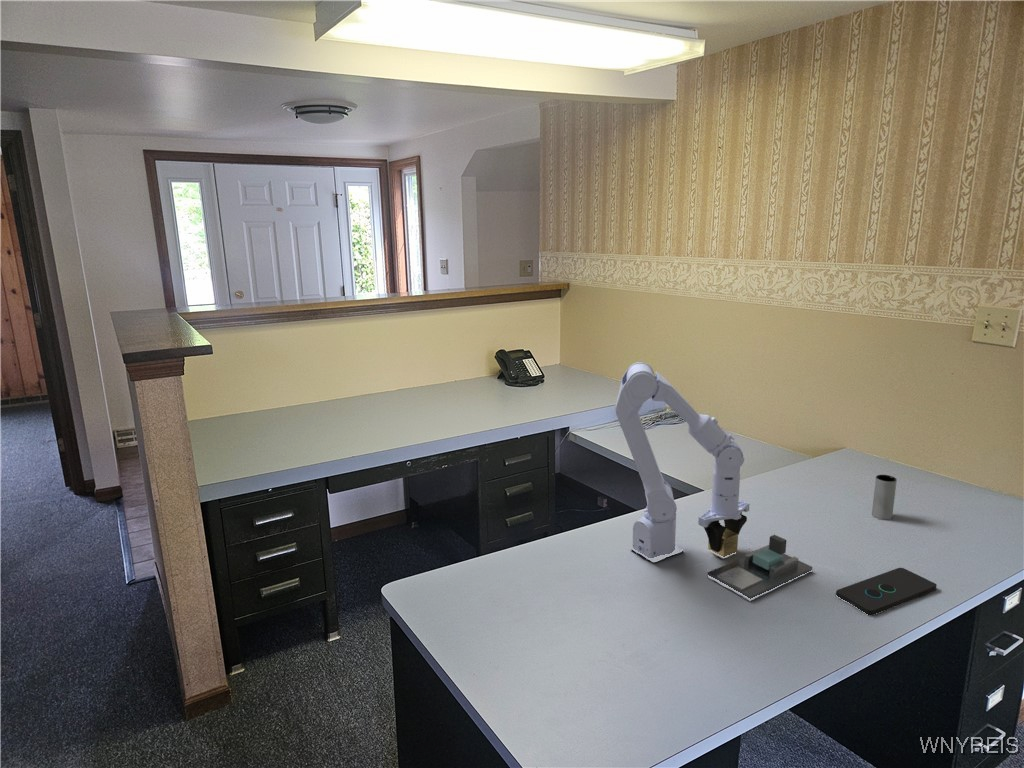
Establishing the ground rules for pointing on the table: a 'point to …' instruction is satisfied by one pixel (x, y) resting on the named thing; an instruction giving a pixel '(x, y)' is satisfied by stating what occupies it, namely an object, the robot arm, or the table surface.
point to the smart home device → (886, 590)
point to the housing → (727, 543)
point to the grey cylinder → (884, 497)
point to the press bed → (758, 574)
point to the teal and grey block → (771, 553)
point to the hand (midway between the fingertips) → (722, 547)
